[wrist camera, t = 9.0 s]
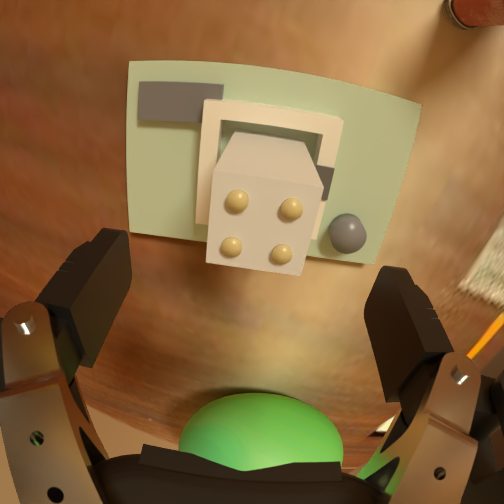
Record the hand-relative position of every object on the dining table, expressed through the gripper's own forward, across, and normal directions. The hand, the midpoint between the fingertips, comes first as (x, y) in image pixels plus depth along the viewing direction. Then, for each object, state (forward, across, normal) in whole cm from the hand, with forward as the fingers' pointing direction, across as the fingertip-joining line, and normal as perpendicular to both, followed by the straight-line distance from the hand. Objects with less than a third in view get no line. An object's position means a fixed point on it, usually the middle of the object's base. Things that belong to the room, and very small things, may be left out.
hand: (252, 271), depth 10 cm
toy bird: (+12, -4, +29) cm, 32 cm away
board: (+12, 0, 0) cm, 12 cm away
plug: (+11, 0, 0) cm, 11 cm away
